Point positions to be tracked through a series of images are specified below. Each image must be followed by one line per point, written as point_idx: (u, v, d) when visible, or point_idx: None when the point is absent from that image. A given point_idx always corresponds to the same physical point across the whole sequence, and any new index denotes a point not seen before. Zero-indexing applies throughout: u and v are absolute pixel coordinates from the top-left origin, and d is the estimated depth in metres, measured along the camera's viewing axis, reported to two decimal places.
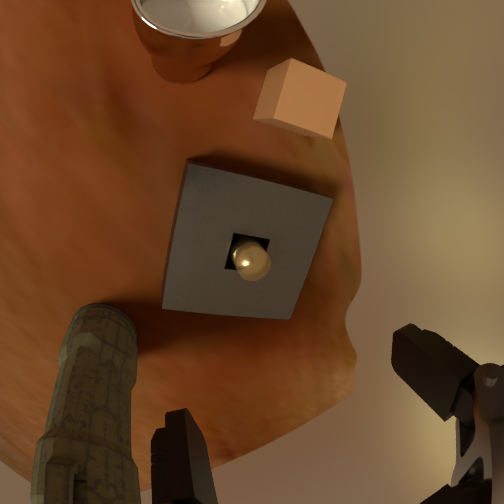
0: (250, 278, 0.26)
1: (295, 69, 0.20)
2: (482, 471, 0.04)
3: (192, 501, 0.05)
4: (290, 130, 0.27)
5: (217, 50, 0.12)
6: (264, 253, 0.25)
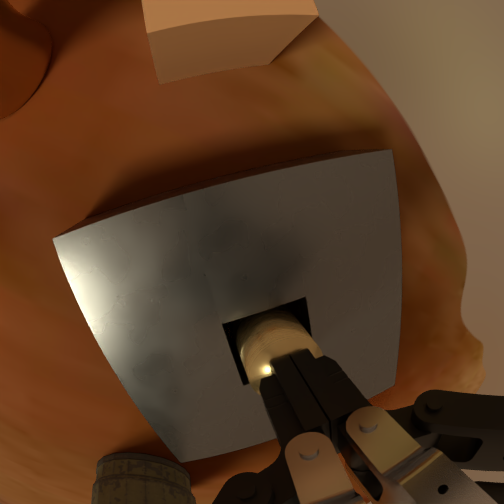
0: None
1: None
2: None
3: (323, 429, 0.07)
4: (237, 63, 0.11)
5: None
6: (296, 341, 0.10)
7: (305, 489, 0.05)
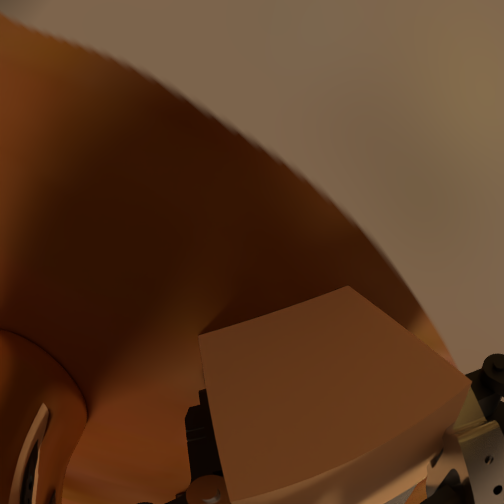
0: None
1: None
2: (458, 478, 0.04)
3: None
4: None
5: None
6: None
7: None
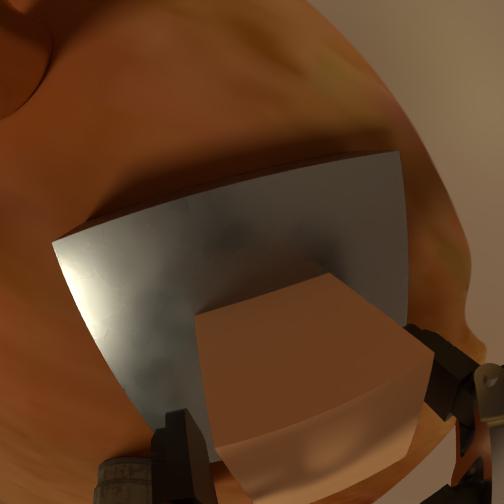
0: None
1: (252, 459, 0.05)
2: (482, 471, 0.04)
3: (192, 501, 0.05)
4: None
5: None
6: None
7: None
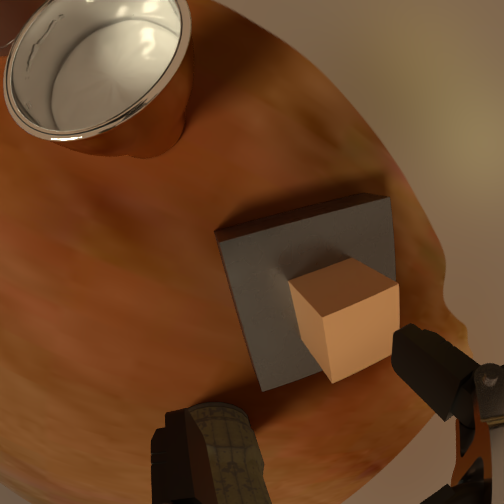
0: None
1: (333, 325, 0.16)
2: (482, 471, 0.04)
3: (192, 501, 0.05)
4: None
5: (170, 112, 0.09)
6: None
7: None
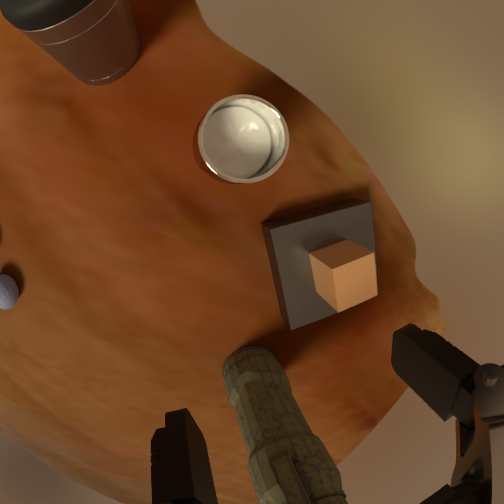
0: None
1: (338, 274, 0.30)
2: (482, 471, 0.04)
3: (192, 501, 0.05)
4: None
5: None
6: None
7: None
